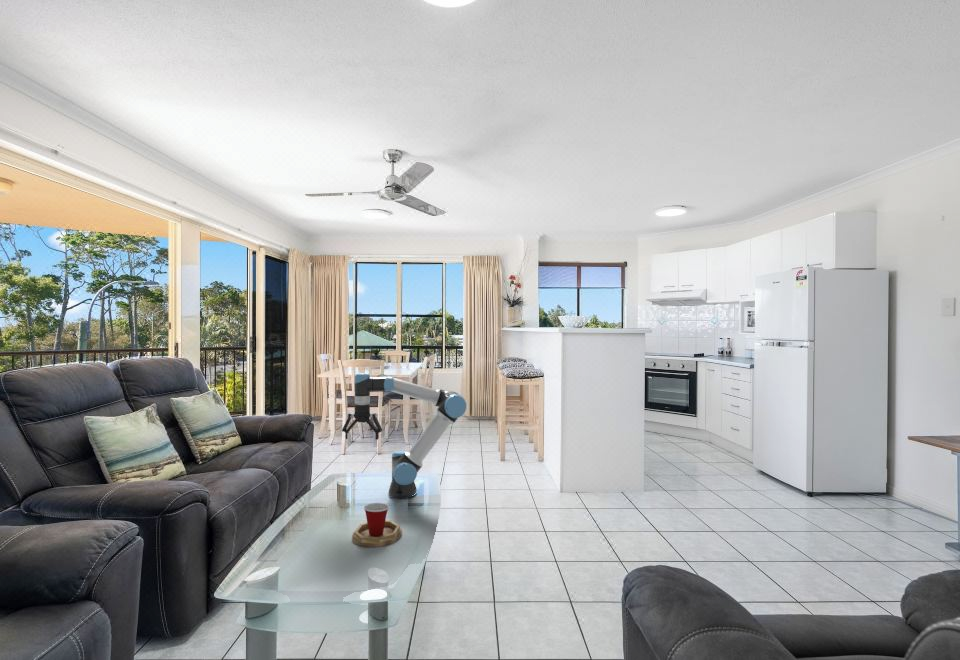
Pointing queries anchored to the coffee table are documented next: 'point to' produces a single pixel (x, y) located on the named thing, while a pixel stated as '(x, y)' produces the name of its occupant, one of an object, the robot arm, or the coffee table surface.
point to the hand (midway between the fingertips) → (362, 445)
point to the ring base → (388, 537)
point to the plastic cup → (376, 518)
